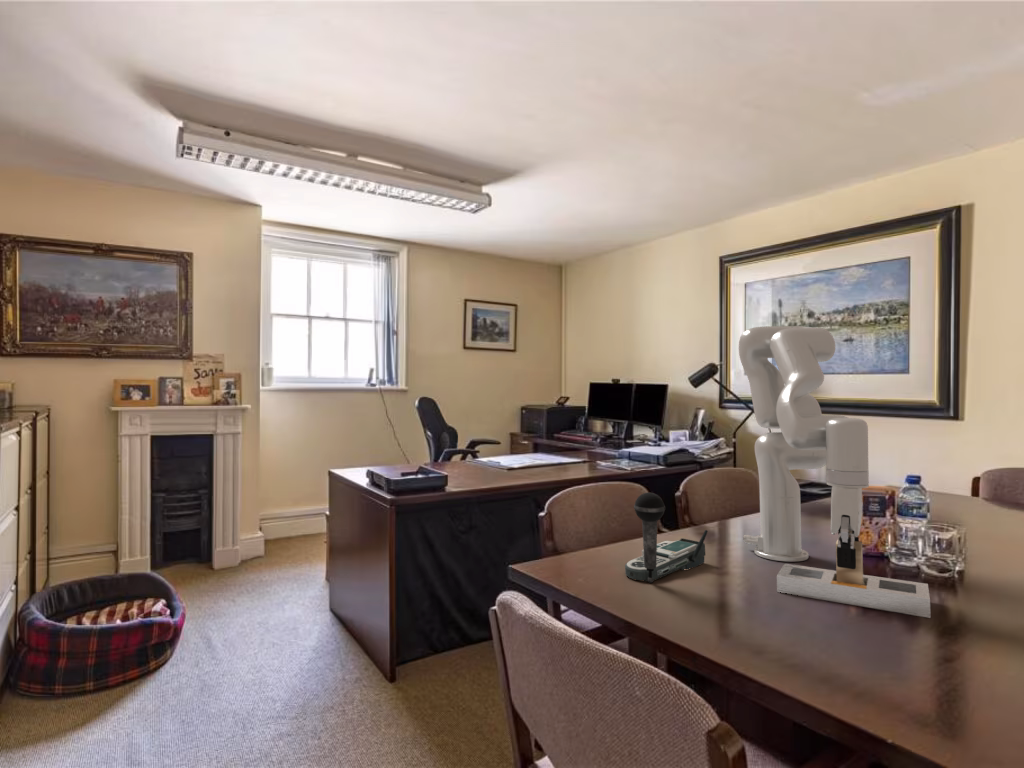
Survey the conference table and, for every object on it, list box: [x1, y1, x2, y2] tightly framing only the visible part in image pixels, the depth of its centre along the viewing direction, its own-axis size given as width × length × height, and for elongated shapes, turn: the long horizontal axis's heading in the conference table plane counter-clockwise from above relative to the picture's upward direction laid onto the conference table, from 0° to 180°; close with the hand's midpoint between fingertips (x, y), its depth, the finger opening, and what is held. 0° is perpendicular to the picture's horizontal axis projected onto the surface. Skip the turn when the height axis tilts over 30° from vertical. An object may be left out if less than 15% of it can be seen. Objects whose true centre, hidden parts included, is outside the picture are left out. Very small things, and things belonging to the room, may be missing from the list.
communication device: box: [624, 529, 708, 582], centre depth 136 cm, size 12×24×9 cm, turn 129°
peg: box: [835, 538, 864, 585], centre depth 116 cm, size 4×4×11 cm
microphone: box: [633, 492, 666, 584], centre depth 126 cm, size 7×7×20 cm
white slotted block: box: [776, 563, 931, 619], centre depth 116 cm, size 26×10×4 cm, turn 56°
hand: (848, 561), depth 117 cm, fingers open, 9 cm apart
